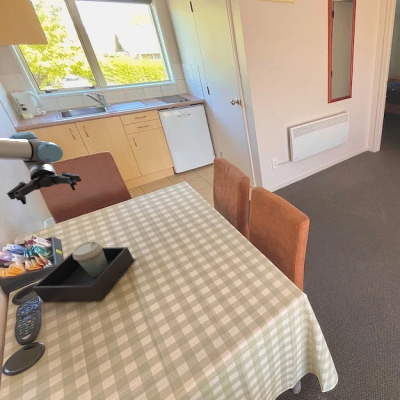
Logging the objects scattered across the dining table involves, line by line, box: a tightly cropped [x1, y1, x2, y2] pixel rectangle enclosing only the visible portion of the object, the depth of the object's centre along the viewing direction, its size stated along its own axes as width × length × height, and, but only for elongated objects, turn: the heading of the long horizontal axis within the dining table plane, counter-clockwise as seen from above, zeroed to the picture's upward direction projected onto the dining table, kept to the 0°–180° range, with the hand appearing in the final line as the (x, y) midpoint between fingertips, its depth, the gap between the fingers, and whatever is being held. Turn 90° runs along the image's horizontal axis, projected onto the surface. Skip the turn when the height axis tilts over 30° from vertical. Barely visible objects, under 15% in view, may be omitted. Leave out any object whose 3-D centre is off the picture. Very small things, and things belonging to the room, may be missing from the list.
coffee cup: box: [71, 240, 108, 277], centre depth 98 cm, size 9×9×12 cm
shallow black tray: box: [31, 246, 135, 303], centre depth 98 cm, size 20×20×7 cm
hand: (48, 193), depth 95 cm, fingers open, 13 cm apart
